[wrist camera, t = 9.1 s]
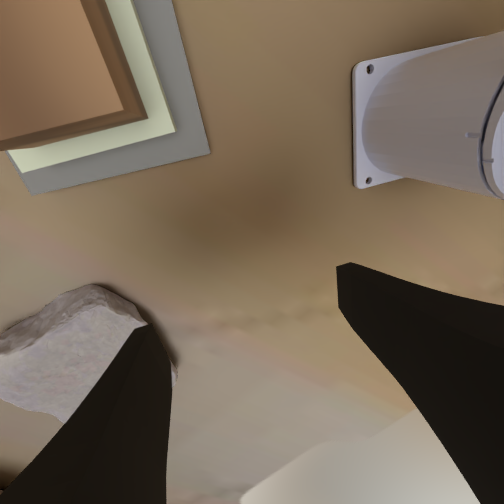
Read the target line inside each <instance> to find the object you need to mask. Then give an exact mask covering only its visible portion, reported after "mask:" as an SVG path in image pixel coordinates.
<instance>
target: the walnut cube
mask: <svg viewBox="0 0 504 504" xmlns="http://www.w3.org/2000/svg"><path fill="white" fill-rule="evenodd" d="M145 119H149V118H148V115H147V113H146V110H145V107H144V105H143V102H142V99H141V96H140V94H139V91H138V88H137V86H136V83H135V80H134V77H133V75H132V72H131V69H130V67H129V64H128V61H127V59H126V56H125V53H124V50H123V48H122V45H121V42H120V40H119V37H118V34H117V31H116V29H115V26H114V23H113V21H112V18H111V15H110V13H109V10H108V7H107V4H106V2H105V0H0V151H6V150H16V149H27V148H35V147H39V146H43V145H47V144H51V143H55V142H59V141H63V140H67V139H71V138H74V137H78V136H82V135H86V134H90V133H94V132H98V131H102V130H106V129H110V128H114V127H118V126H122V125H126V124H130V123H134V122H137V121H141V120H145Z"/></svg>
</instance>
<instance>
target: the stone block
mask: <svg viewBox="0 0 504 504" xmlns="http://www.w3.org/2000/svg"><path fill="white" fill-rule="evenodd" d="M145 325H148V324H147V322H145V321H144V320H143V319H142V317H141V316H140V314H139V313H138V311H137V308H136V307H135V305H134V304H133V303H132V302H129V301H127V300H125V299H123V298H121V297H120V296H118V295H117V294H115V293H112V292H110V291H109V290H107V289H105V288H103V287H100V286H98V285H94V284H89V285H85V286H83V287H81V288H78V289H75V290H72V291H68V292H65V293H63V294H60V295H58V297H57V298H55V299H54V300H53V301H52V302H51V303H50V304H48V305H46V306H45V307H44V308H43V310H42V311H41V312H39V313H37V314H35V315H34V316H31V317H29V318H27V319H25V320H23V321H21V322H20V323H18V324H16V325H14V326H13V327H11V328H10V329H8V330H7V331H5V332H4V333H3V334H2V335H1V337H0V398H1V399H3V400H4V401H6V402H9V403H12V404H14V405H15V406H17V407H21V408H23V409H25V410H27V411H39V412H44V413H48V414H51V415H53V416H55V417H57V418H58V420H59V421H61V422H63V423H66V422H67V420H68V419H69V418H70V417H71V415H72V414H73V413H74V412H75V410H76V409H77V408H78V406H79V405H80V404H81V402H82V401H83V400H84V399H85V397H86V396H87V395H88V393H89V392H90V391H91V389H92V388H93V387H94V385H95V384H96V383H97V381H98V380H99V379H100V377H101V376H102V374H103V373H104V372H105V370H106V369H107V367H108V366H109V365H110V363H111V362H112V360H113V359H114V357H115V356H116V354H117V353H118V352H119V350H120V349H121V347H122V346H123V344H124V343H125V341H126V340H127V338H128V337H129V336H130V334H131V333H132V331H133V330H134V329H135V328H138V327H141V326H145ZM170 361H171V360H170ZM171 372H172V387H174V386H175V385H176V381H177V377H178V375H177V373H178V372H177V369H176V368H175V367H174V365H173V364H172V362H171Z"/></svg>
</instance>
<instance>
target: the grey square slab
mask: <svg viewBox="0 0 504 504" xmlns="http://www.w3.org/2000/svg"><path fill="white" fill-rule="evenodd" d="M133 2H134V5H135V8H136V10H137V13H138V16H139V19H140V22H141V25H142V28H143V31H144V34H145V37H146V40H147V43H148V46H149V49H150V52H151V55H152V58H153V61H154V64H155V67H156V69H157V72H158V75H159V78H160V81H161V84H162V87H163V90H164V93H165V96H166V99H167V102H168V105H169V108H170V111H171V114H172V117H173V120H174V123H175V126H176V128H177V131H176V132H173V133H169V134H165V135H161V136H158V137H154V138H150V139H147V140H143V141H139V142H135V143H132V144H128V145H124V146H121V147H117V148H113V149H109V150H106V151H102V152H98V153H95V154H91V155H87V156H84V157H80V158H76V159H72V160H69V161H65V162H61V163H58V164H54V165H50V166H46V167H43V168H39V169H35V170H32V171H28V172H24V173H22V172H21V171H20V169H19V168H18V166H17V165H16V163H15V161H14V160H13V158H12V157H11V155H10V154H9V152H8V151H7V150H6V151H5V152H6V154H7V156H8V157H9V159H10V161H11V162H12V164H13V166H14V167H15V169H16V171H17V172H18V174H19V176H20V177H21V179H22V181H23V182H24V184H25V186H26V187H27V189H28V191H29V192H30V194H31V196H33V195H37V194H41V193H45V192H50V191H54V190H58V189H62V188H66V187H71V186H75V185H79V184H83V183H88V182H92V181H96V180H100V179H105V178H109V177H113V176H117V175H122V174H126V173H130V172H134V171H139V170H143V169H147V168H151V167H156V166H160V165H164V164H168V163H173V162H177V161H181V160H185V159H190V158H194V157H198V156H202V155H206V154H211V153H210V149H209V145H208V141H207V137H206V134H205V130H204V126H203V122H202V118H201V114H200V110H199V106H198V102H197V98H196V94H195V91H194V87H193V83H192V79H191V75H190V71H189V67H188V63H187V59H186V55H185V51H184V47H183V44H182V40H181V36H180V32H179V28H178V24H177V20H176V16H175V12H174V8H173V4H172V1H171V0H133Z"/></svg>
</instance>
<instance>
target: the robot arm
mask: <svg viewBox="0 0 504 504" xmlns="http://www.w3.org/2000/svg"><path fill="white" fill-rule="evenodd" d="M367 66H369V67H370V73H369V74H368V73H367V71H366V69H367ZM352 83H353V153H354V186H355V187H356V188H359V189H364V188H367V187H371V186H375V185H379V184H382V183H386V182H390V181H394V180H397V179H401V178H405V177H407V178H411V179H416V180H420V181H424V182H429V183H433V184H437V185H442V186H446V187H450V188H455V189H459V190H463V191H467V192H472V193H476V194H480V195H485V196H489V197H493V198H498V199H502V200H504V30H503V31H500V32H497V33H494V34H490V35H487V36H481V37H476V38H471V39H466V40H462V41H457V42H452V43H447V44H443V45H438V46H433V47H428V48H424V49H419V50H414V51H409V52H405V53H400V54H395V55H390V56H386V57H381V58H376V59H371V60H367V61H362V62H359V63H357V64H356V65H355V66H354V68H353V73H352ZM368 177H369V181H368V182H367V183H366V179H367V178H368ZM336 271H337V289H338V306H339V309H340V310H341V312H342V314H343V315H344V317H345V318H346V320H347V321H348V323H349V324H350V326H351V327H352V329H353V330H354V331H355V332H356V333H357V335H358V336H359V337H360V338H361V339H362V340H363V342H364V343H365V344H366V345H367V346H368V347H369V349H370V350H371V351H372V352H373V353H374V354H375V355H376V357H377V358H378V359H379V360H380V361H381V362H382V363H383V365H384V366H385V367H386V368H387V369H388V370H389V372H390V373H391V374H392V375H393V376H394V377H395V379H396V380H397V381H398V382H399V384H400V385H401V386H402V387H403V389H404V390H405V391H406V393H407V394H408V396H409V397H410V398H411V400H412V401H413V403H414V404H415V405H416V407H417V408H418V409H419V411H420V412H421V414H422V415H423V416H424V418H425V420H426V421H427V422H428V424H429V425H430V427H431V428H432V430H433V431H434V433H435V434H436V436H437V437H438V438H439V440H440V441H441V443H442V444H443V446H444V447H445V449H446V450H447V452H448V453H449V455H450V457H451V458H452V460H453V461H454V463H455V464H456V466H457V467H458V469H459V470H460V472H461V473H462V474H463V476H464V478H465V480H466V481H467V483H468V484H469V486H470V488H471V489H472V491H473V492H474V494H475V496H476V497H477V499H478V500H479V502H480V504H504V306H502V305H497V304H492V303H487V302H482V301H478V300H473V299H469V298H465V297H460V296H456V295H452V294H448V293H445V292H441V291H438V290H434V289H431V288H427V287H424V286H421V285H417V284H414V283H411V282H408V281H405V280H402V279H399V278H396V277H393V276H390V275H387V274H385V273H382V272H379V271H376V270H373V269H370V268H367V267H365V266H362V265H358V264H355V263H352V262H350V263H346V264H343V265H340V266H337V267H336ZM171 401H172V372H171V361H170V359H169V357H168V355H167V353H166V351H165V349H164V347H163V345H162V343H161V341H160V339H159V337H158V335H157V333H156V331H155V329H154V327H153V325H152V323H151V324H148V325H145V326H141V327H138V328H135V329H134V330H133V331H132V333H131V334H130V336H129V337H128V338H127V340H126V341H125V343H124V344H123V346H122V347H121V349H120V350H119V352H118V353H117V354H116V356H115V357H114V359H113V360H112V362H111V363H110V365H109V366H108V367H107V369H106V370H105V372H104V373H103V374H102V376H101V377H100V379H99V380H98V381H97V383H96V384H95V385H94V387H93V388H92V389H91V391H90V392H89V393H88V395H87V396H86V397H85V399H84V400H83V401H82V402H81V404H80V405H79V406H78V408H77V409H76V410H75V412H74V413H73V414H72V415H71V417H70V418H69V419H68V420H67V422H66V423H65V424H64V425H63V426H62V428H61V429H60V430H59V431H58V432H57V434H56V435H55V436H54V437H53V438H52V439H51V440H50V442H49V443H48V444H47V445H46V446H45V447H44V448H43V450H42V451H41V452H40V453H39V454H38V455H37V456H36V457H35V459H34V460H33V461H32V462H31V463H30V464H29V465H28V466H27V467H26V468H25V469H24V470H23V471H22V472H21V473H20V474H19V475H18V477H17V478H16V479H15V480H14V481H13V482H12V483H11V484H10V485H9V486H8V487H7V488H6V489H5V490H4V491H3V492H2V493H1V494H0V504H166V468H167V452H168V439H169V427H170V414H171Z"/></svg>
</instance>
